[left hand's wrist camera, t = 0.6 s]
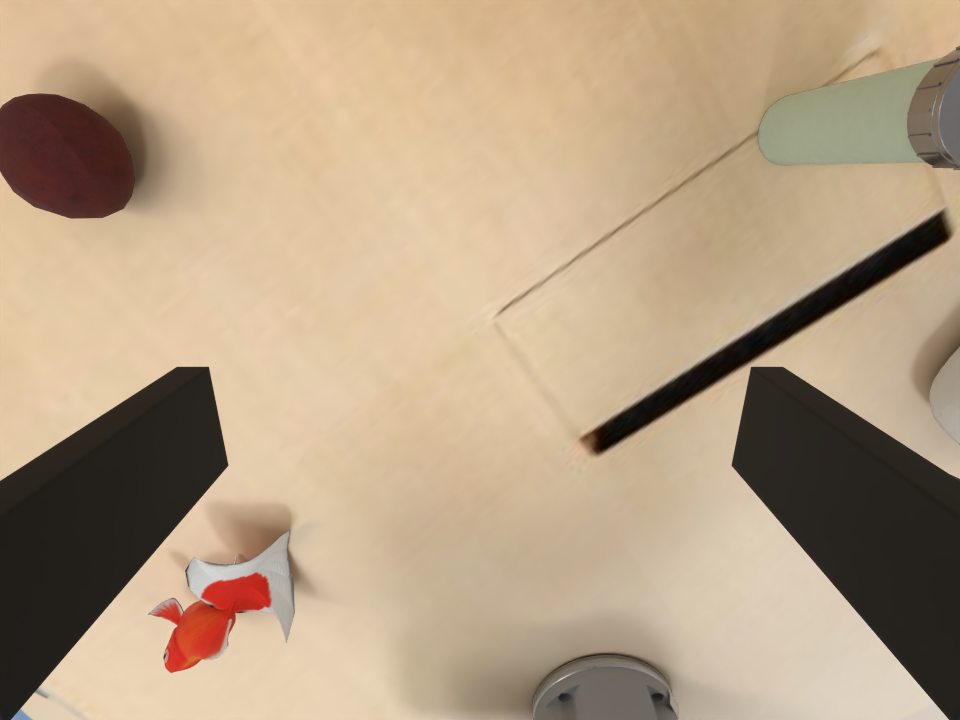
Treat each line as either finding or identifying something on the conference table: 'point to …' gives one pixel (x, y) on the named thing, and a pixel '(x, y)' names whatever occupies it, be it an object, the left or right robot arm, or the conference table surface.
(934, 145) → the lid
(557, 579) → the conference table surface
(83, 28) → the conference table surface
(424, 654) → the conference table surface
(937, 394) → the projector
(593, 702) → the left robot arm
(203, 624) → the fish
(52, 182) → the potato
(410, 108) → the conference table surface
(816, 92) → the bottle
